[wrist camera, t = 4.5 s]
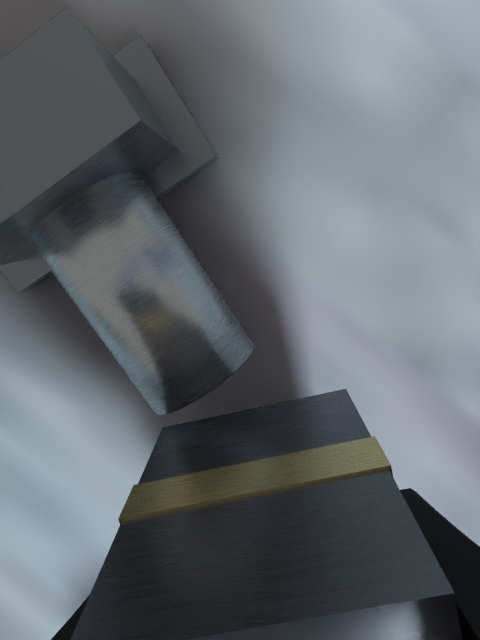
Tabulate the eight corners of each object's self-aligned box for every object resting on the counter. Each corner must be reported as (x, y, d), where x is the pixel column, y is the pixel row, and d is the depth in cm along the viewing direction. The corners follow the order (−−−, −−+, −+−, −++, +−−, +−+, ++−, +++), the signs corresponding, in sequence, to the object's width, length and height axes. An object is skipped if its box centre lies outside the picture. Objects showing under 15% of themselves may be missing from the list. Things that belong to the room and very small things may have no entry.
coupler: (380, 551, 12) (508, 886, 6) (207, 583, 12) (163, 928, 6) (347, 386, 11) (458, 588, 5) (159, 426, 11) (56, 658, 5)
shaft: (306, 298, 13) (331, 344, 8) (120, 412, 14) (58, 505, 9) (146, 43, 11) (79, -60, 7) (-46, 190, 12) (-208, 179, 8)
